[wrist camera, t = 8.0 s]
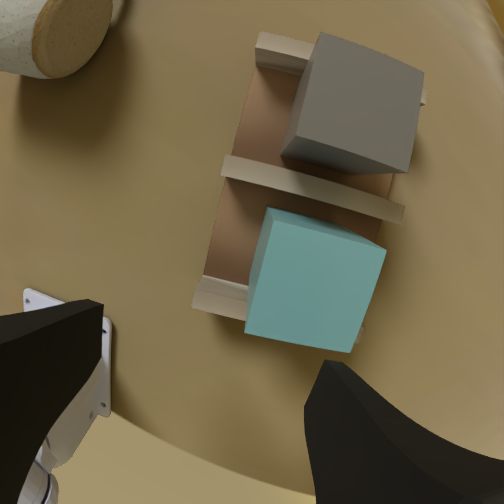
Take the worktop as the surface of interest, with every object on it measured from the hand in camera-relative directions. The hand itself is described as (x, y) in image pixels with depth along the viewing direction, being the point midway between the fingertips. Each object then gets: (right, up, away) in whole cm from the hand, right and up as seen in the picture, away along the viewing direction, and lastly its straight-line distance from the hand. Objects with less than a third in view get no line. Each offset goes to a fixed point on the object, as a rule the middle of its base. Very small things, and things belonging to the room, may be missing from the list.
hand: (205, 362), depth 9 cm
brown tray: (+5, +7, +8) cm, 12 cm away
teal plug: (+4, +4, +8) cm, 9 cm away
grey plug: (+5, +10, +7) cm, 13 cm away
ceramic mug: (-11, +20, +6) cm, 24 cm away
